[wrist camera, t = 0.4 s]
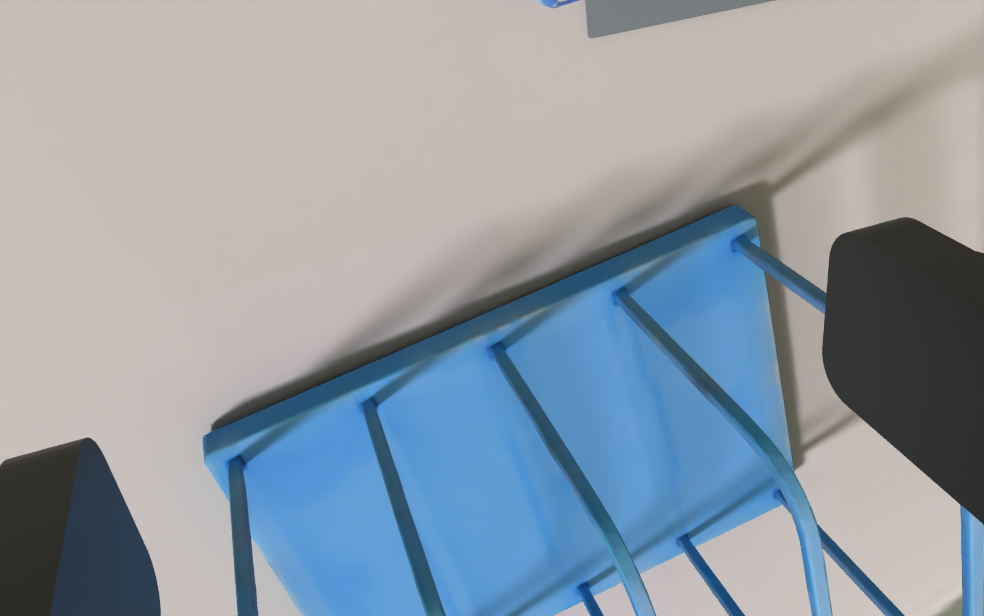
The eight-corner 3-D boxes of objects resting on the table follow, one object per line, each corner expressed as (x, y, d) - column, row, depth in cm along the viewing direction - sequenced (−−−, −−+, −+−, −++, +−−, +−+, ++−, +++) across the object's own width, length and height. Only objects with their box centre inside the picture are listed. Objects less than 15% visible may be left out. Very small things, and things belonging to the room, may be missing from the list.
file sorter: (353, 678, 45) (417, 1014, 32) (198, 428, 36) (198, 750, 23) (780, 477, 48) (1002, 710, 35) (734, 199, 39) (1007, 370, 26)
